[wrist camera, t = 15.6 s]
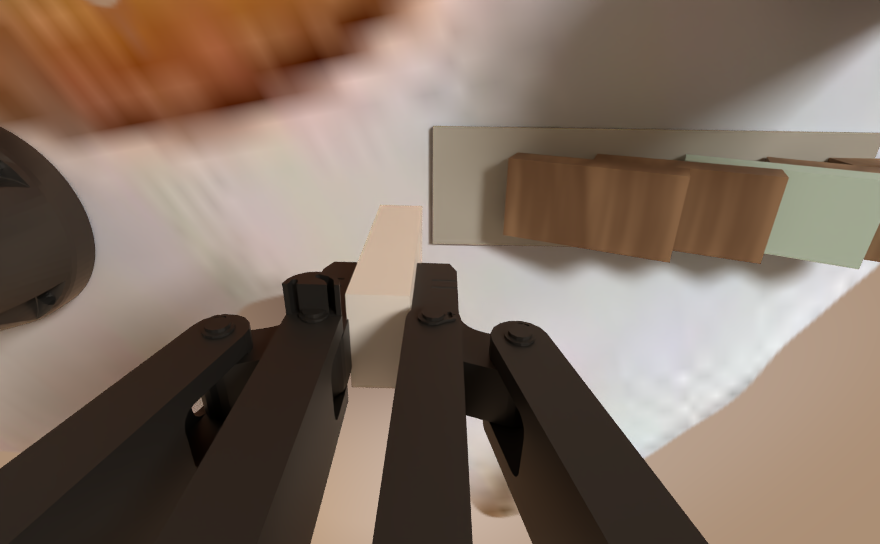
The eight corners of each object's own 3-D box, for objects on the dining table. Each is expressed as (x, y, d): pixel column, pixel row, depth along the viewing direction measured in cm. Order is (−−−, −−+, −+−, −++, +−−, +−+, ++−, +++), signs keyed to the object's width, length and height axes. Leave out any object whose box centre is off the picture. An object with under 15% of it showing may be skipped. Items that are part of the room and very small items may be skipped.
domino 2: (582, 236, 31) (760, 263, 27) (592, 159, 28) (789, 177, 25) (587, 227, 32) (755, 251, 28) (597, 153, 30) (782, 169, 26)
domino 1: (503, 234, 31) (669, 262, 27) (508, 158, 28) (690, 176, 25) (512, 225, 32) (669, 250, 29) (517, 152, 30) (689, 168, 26)
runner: (432, 242, 33) (432, 243, 33) (433, 126, 30) (433, 126, 30) (832, 250, 33) (835, 252, 32) (881, 132, 29) (884, 133, 29)
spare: (666, 237, 30) (858, 269, 26) (685, 160, 28) (898, 182, 24) (668, 227, 32) (849, 256, 28) (686, 154, 30) (885, 173, 26)
